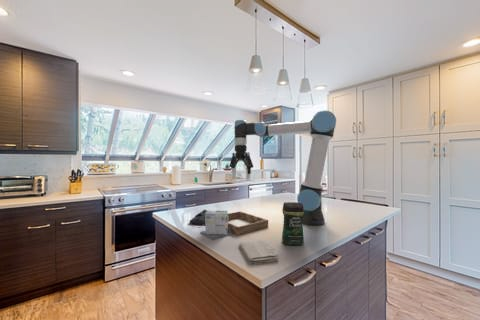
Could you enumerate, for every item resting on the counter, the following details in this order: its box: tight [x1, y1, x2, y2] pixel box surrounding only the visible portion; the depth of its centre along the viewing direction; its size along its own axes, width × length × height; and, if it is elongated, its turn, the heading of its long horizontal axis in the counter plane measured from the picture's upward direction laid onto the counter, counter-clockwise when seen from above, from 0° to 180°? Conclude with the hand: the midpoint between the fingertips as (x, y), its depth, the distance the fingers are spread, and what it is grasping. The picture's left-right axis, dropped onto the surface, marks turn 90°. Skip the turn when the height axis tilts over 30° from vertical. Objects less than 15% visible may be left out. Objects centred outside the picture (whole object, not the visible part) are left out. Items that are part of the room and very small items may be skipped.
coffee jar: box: [281, 201, 305, 246], centre depth 100 cm, size 10×8×19 cm
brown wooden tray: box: [228, 210, 269, 236], centre depth 126 cm, size 26×22×4 cm
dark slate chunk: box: [189, 209, 208, 226], centre depth 137 cm, size 15×22×5 cm
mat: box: [200, 230, 234, 240], centre depth 112 cm, size 12×12×1 cm
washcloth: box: [238, 239, 279, 265], centre depth 89 cm, size 12×18×3 cm, turn 15°
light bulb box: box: [204, 209, 229, 235], centre depth 112 cm, size 11×7×11 cm, turn 85°
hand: (240, 178), depth 137 cm, fingers open, 13 cm apart
